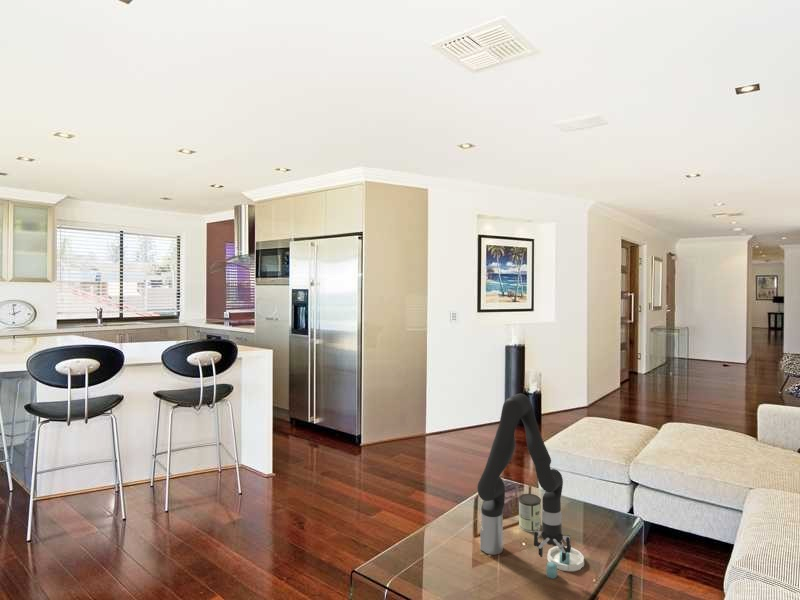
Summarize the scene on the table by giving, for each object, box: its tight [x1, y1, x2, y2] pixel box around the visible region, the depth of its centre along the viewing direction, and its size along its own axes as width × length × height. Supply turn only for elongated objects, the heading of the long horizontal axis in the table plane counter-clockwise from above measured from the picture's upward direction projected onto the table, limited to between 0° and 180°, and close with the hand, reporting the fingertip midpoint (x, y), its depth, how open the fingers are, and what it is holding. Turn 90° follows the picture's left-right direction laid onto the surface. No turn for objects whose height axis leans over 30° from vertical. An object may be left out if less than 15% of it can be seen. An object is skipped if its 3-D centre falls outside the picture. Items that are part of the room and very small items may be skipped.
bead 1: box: [546, 562, 558, 580], centre depth 212 cm, size 4×4×4 cm
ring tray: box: [546, 545, 585, 572], centre depth 222 cm, size 15×15×2 cm
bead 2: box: [560, 551, 570, 565], centre depth 218 cm, size 4×4×4 cm
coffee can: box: [518, 493, 542, 533], centre depth 249 cm, size 10×10×14 cm
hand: (552, 558), depth 211 cm, fingers open, 8 cm apart
